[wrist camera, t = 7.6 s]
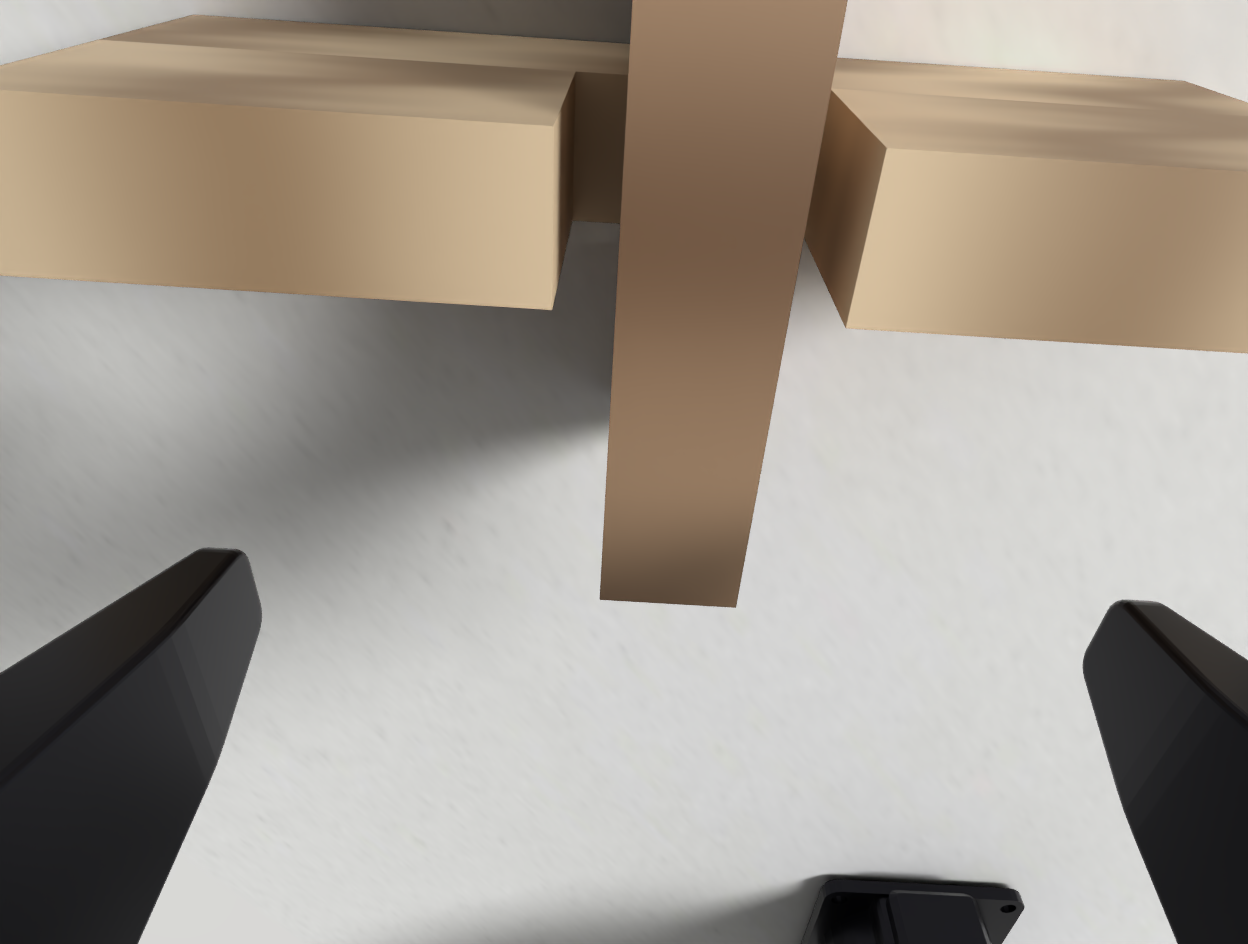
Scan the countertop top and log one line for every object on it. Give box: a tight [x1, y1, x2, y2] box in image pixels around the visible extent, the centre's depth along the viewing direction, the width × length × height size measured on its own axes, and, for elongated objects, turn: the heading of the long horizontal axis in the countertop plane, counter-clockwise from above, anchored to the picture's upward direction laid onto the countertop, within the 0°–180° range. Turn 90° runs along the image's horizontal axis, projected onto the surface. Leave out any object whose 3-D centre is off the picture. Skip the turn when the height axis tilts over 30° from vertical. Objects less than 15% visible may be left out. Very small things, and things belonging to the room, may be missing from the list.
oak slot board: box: [0, 15, 1248, 353], centre depth 11 cm, size 16×2×6 cm, turn 87°
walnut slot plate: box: [600, 0, 848, 608], centre depth 12 cm, size 10×2×6 cm, turn 177°
